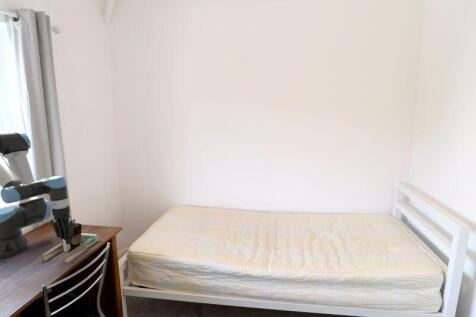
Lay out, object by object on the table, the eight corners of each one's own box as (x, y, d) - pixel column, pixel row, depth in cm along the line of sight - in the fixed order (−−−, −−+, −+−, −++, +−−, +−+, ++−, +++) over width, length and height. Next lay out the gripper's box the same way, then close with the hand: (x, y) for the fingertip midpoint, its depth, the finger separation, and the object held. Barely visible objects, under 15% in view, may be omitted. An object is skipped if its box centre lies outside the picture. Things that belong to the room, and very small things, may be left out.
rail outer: (64, 262, 134) (63, 256, 133) (92, 242, 153) (91, 237, 153) (68, 262, 134) (67, 257, 133) (95, 242, 153) (94, 237, 152)
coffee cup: (87, 245, 150) (86, 223, 148) (76, 252, 142) (74, 228, 140) (73, 244, 151) (71, 221, 150) (61, 251, 143) (59, 227, 142)
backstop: (72, 240, 155) (71, 234, 155) (75, 239, 157) (74, 232, 157) (95, 242, 153) (94, 235, 152) (97, 240, 155) (97, 234, 154)
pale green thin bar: (42, 260, 136) (41, 255, 135) (72, 240, 155) (72, 236, 155) (46, 260, 136) (45, 255, 135) (75, 241, 155) (75, 236, 154)
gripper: (42, 209, 135) (50, 252, 139) (66, 210, 132) (72, 254, 137) (55, 203, 142) (62, 245, 146) (77, 204, 140) (83, 246, 144)
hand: (67, 249), depth 142 cm, fingers closed
